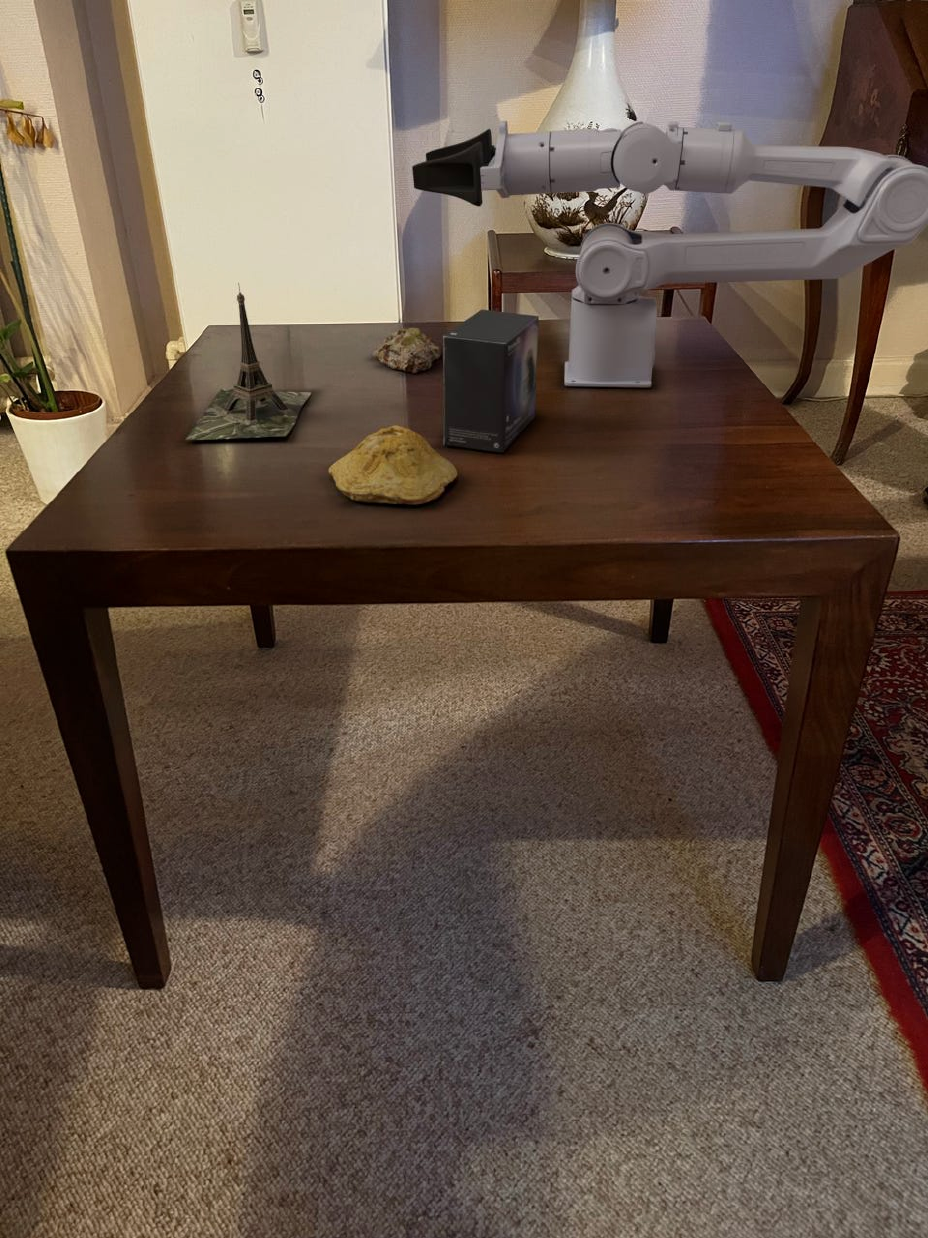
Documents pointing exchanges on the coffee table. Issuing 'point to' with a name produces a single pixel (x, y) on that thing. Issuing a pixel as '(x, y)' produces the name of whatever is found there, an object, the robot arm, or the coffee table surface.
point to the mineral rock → (408, 350)
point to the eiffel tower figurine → (249, 401)
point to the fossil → (393, 469)
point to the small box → (489, 379)
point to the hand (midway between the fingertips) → (420, 169)
